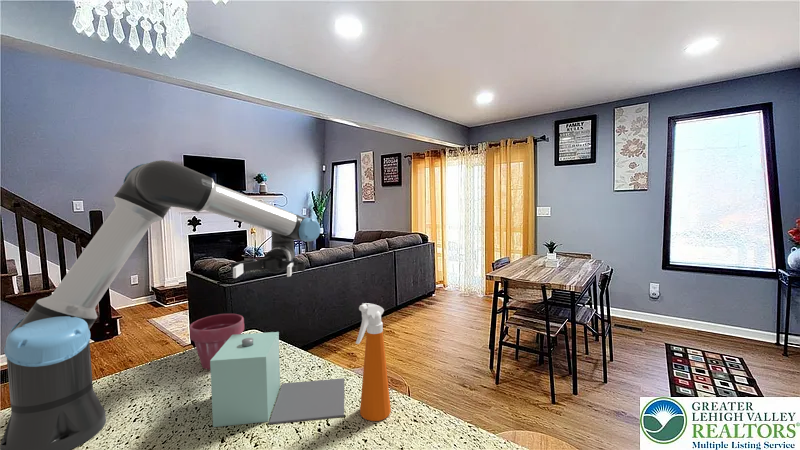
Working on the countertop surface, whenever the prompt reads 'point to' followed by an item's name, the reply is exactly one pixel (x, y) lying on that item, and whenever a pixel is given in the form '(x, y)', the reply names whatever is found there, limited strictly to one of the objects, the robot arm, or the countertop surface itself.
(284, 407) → the rubber mat
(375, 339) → the spray bottle
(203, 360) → the plant pot
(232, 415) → the box
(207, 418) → the countertop surface
